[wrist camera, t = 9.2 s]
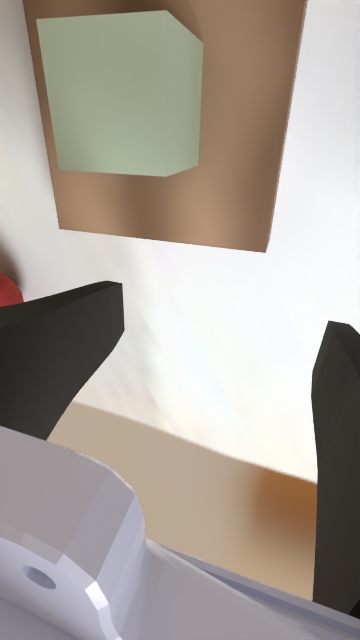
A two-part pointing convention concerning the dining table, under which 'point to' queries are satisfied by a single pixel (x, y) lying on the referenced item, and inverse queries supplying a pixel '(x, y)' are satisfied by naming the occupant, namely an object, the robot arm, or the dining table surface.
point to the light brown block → (215, 128)
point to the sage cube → (123, 92)
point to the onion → (9, 292)
